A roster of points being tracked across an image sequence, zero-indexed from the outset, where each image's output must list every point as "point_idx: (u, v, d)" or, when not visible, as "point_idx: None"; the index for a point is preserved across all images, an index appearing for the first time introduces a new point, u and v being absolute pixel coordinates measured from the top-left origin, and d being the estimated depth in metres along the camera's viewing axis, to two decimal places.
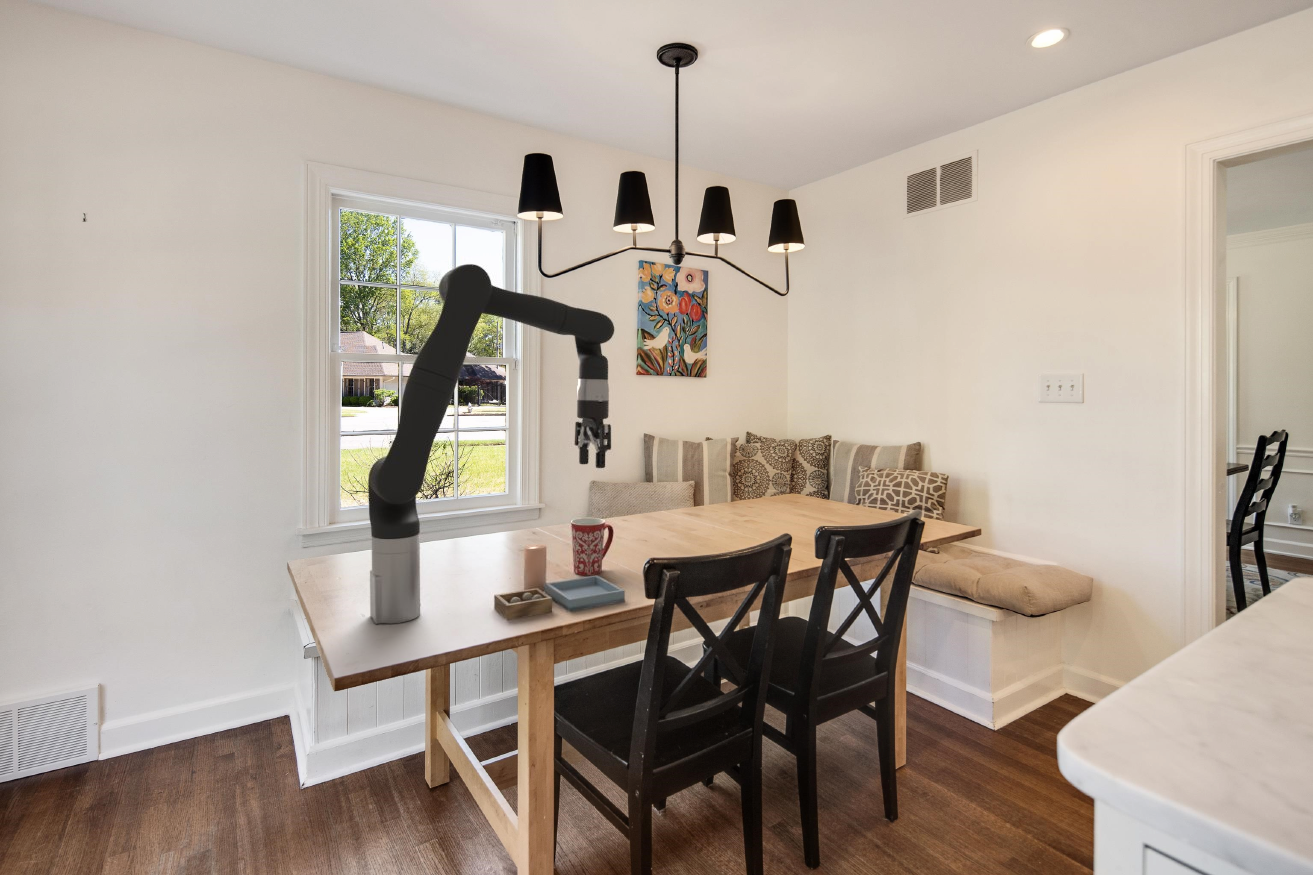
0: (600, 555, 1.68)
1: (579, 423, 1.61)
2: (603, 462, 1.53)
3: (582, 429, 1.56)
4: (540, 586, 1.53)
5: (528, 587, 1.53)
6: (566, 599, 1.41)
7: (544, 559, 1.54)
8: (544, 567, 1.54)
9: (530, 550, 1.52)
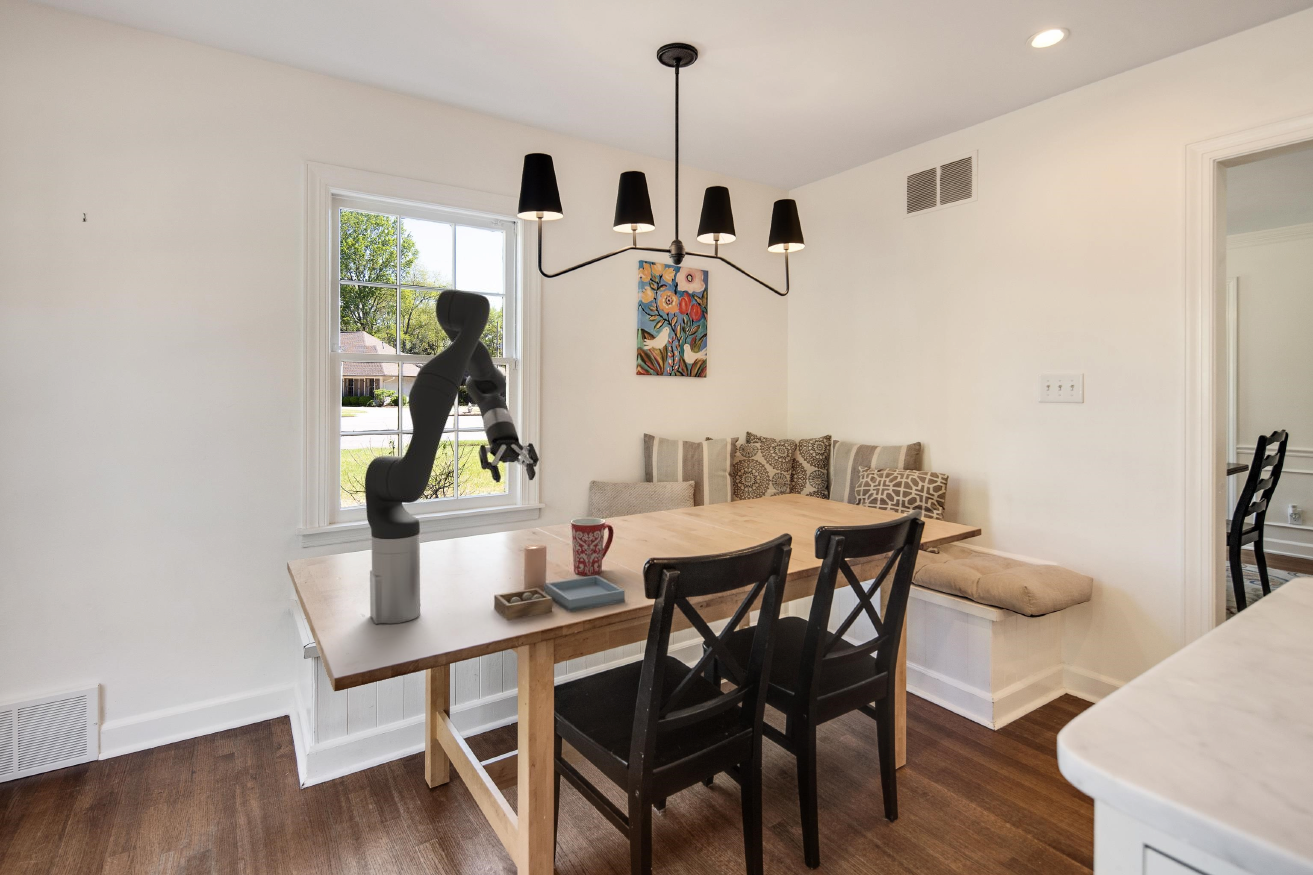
0: (600, 555, 1.68)
1: None
2: None
3: (503, 447, 1.63)
4: (540, 586, 1.53)
5: (528, 587, 1.53)
6: (566, 599, 1.41)
7: (544, 559, 1.54)
8: (544, 567, 1.54)
9: (530, 550, 1.52)
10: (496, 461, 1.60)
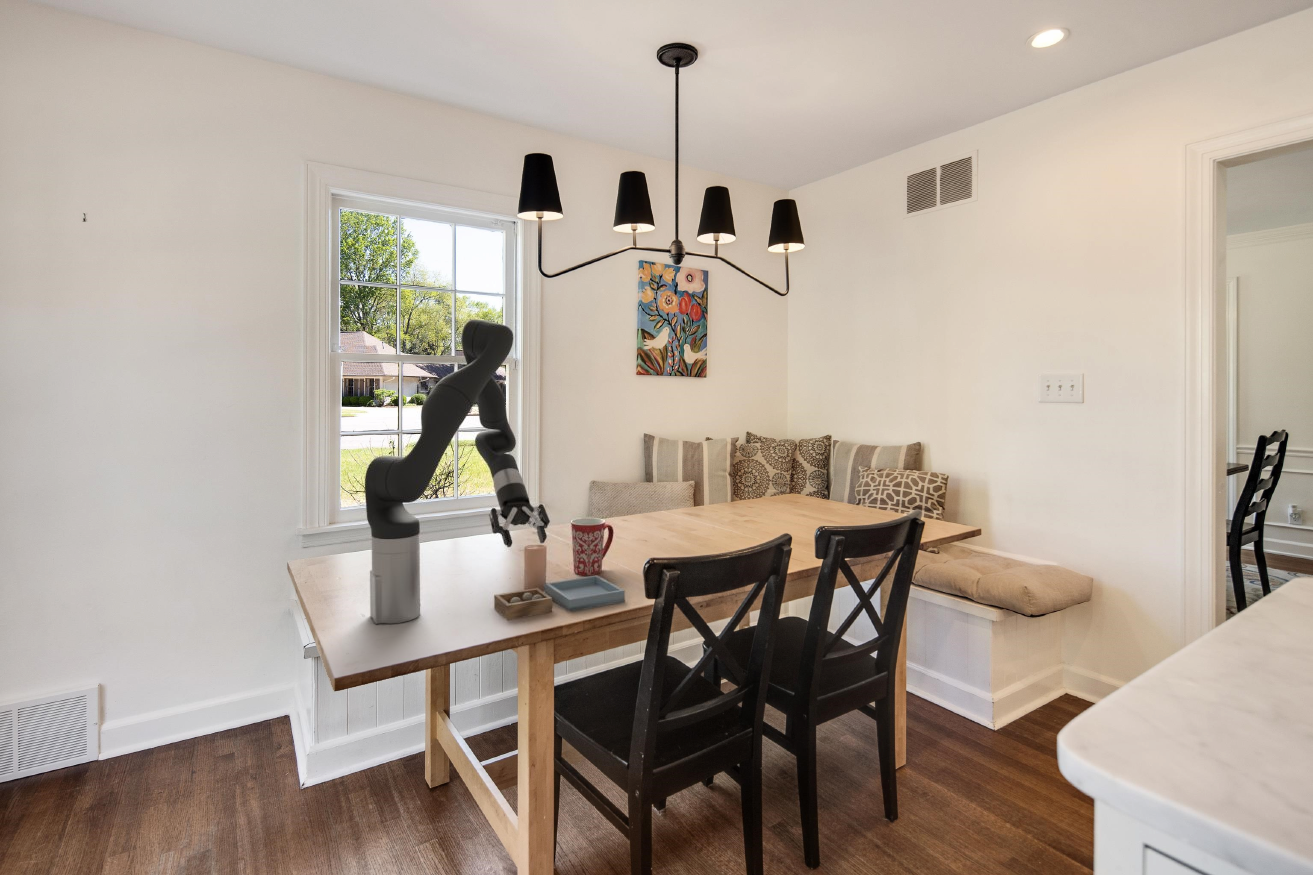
0: (600, 555, 1.68)
1: None
2: None
3: (514, 510, 1.62)
4: (540, 586, 1.53)
5: (528, 587, 1.53)
6: (566, 599, 1.41)
7: (544, 559, 1.54)
8: (544, 567, 1.54)
9: (530, 550, 1.52)
10: (507, 525, 1.59)
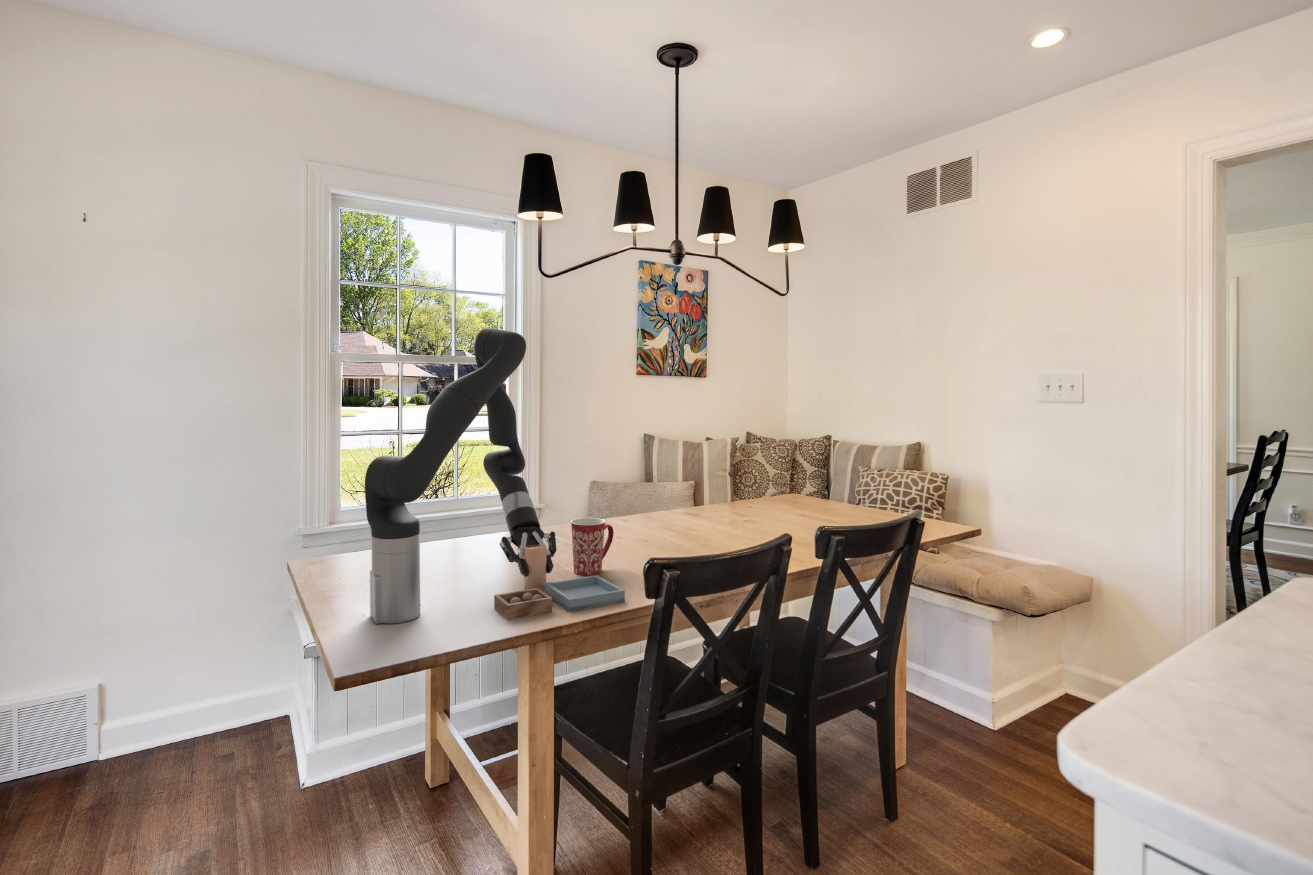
0: (600, 555, 1.68)
1: None
2: None
3: (524, 535, 1.57)
4: (540, 586, 1.53)
5: (528, 587, 1.53)
6: (566, 599, 1.41)
7: (544, 559, 1.54)
8: (544, 567, 1.54)
9: (530, 550, 1.52)
10: (523, 553, 1.54)
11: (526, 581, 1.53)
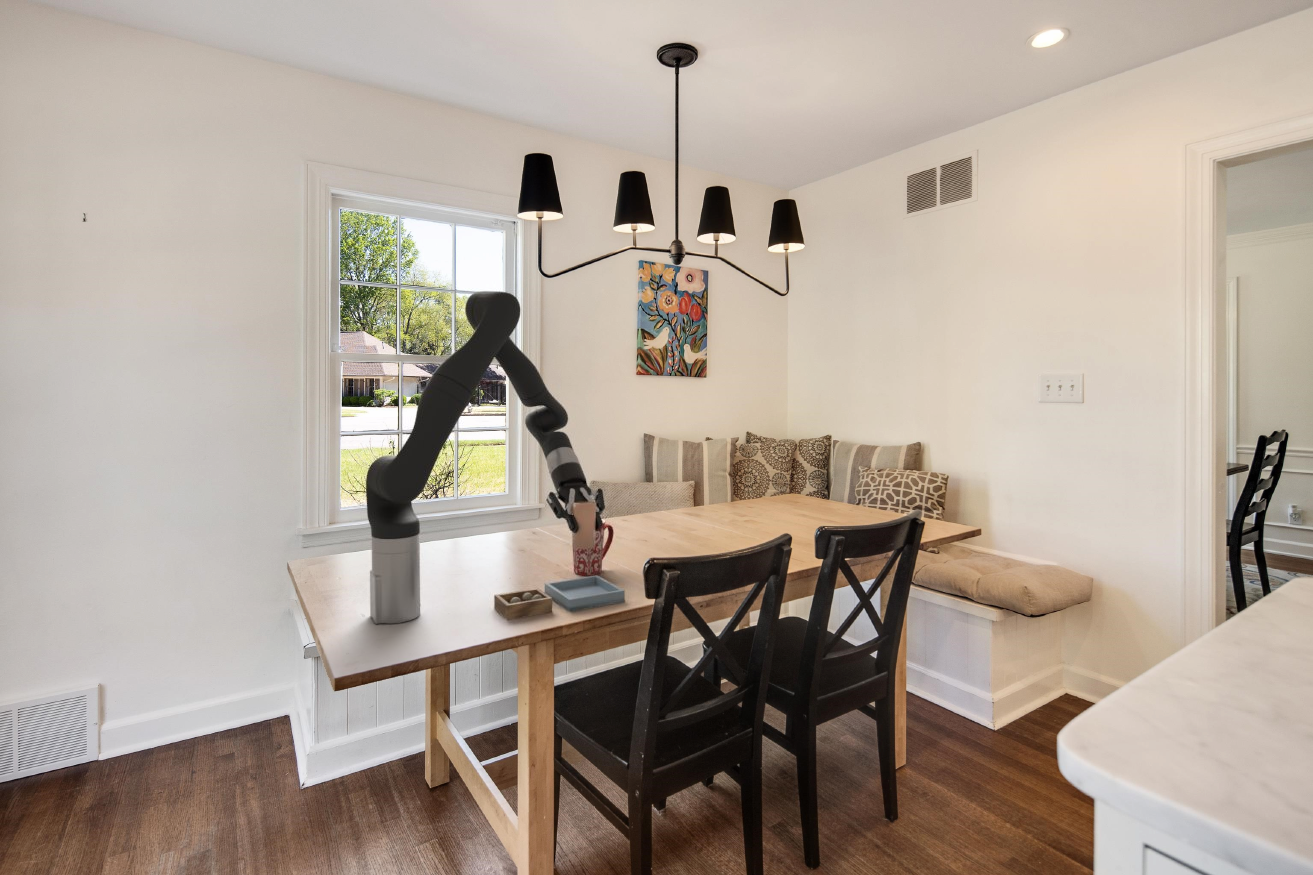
0: (600, 555, 1.68)
1: None
2: None
3: (572, 491, 1.50)
4: (589, 543, 1.46)
5: (577, 544, 1.46)
6: (566, 599, 1.41)
7: (594, 515, 1.47)
8: (593, 524, 1.47)
9: (580, 505, 1.45)
10: (571, 509, 1.47)
11: (575, 538, 1.46)
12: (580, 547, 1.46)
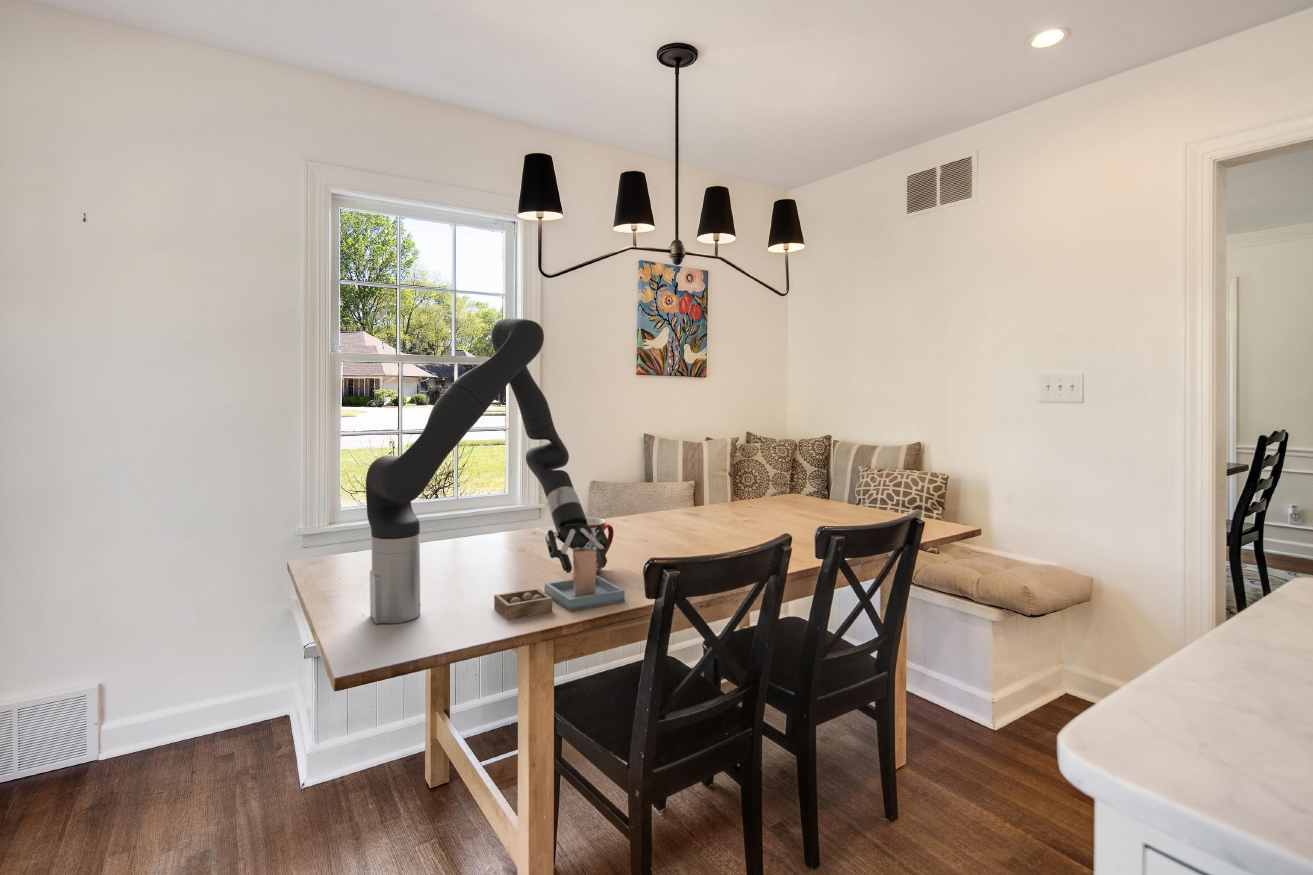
0: None
1: None
2: None
3: (572, 532, 1.50)
4: (590, 591, 1.47)
5: (578, 593, 1.47)
6: (566, 599, 1.41)
7: (594, 564, 1.47)
8: (594, 572, 1.48)
9: (580, 554, 1.46)
10: (566, 549, 1.47)
11: (575, 587, 1.47)
12: (580, 596, 1.46)
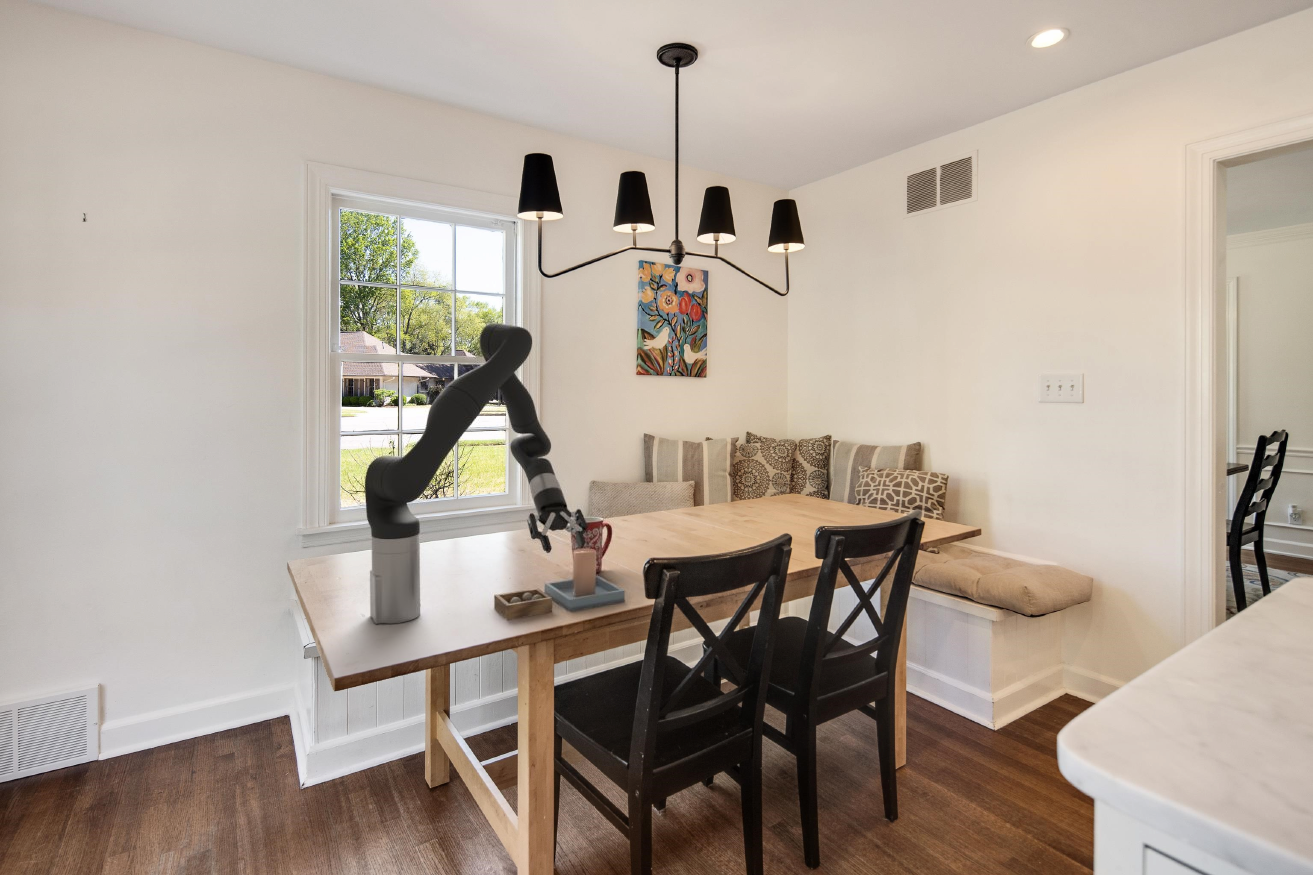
0: (599, 553, 1.68)
1: None
2: None
3: (552, 515, 1.60)
4: (590, 591, 1.47)
5: (578, 593, 1.47)
6: (566, 599, 1.41)
7: (594, 563, 1.47)
8: (594, 572, 1.48)
9: (580, 554, 1.46)
10: (546, 530, 1.57)
11: (575, 587, 1.47)
12: (580, 596, 1.46)
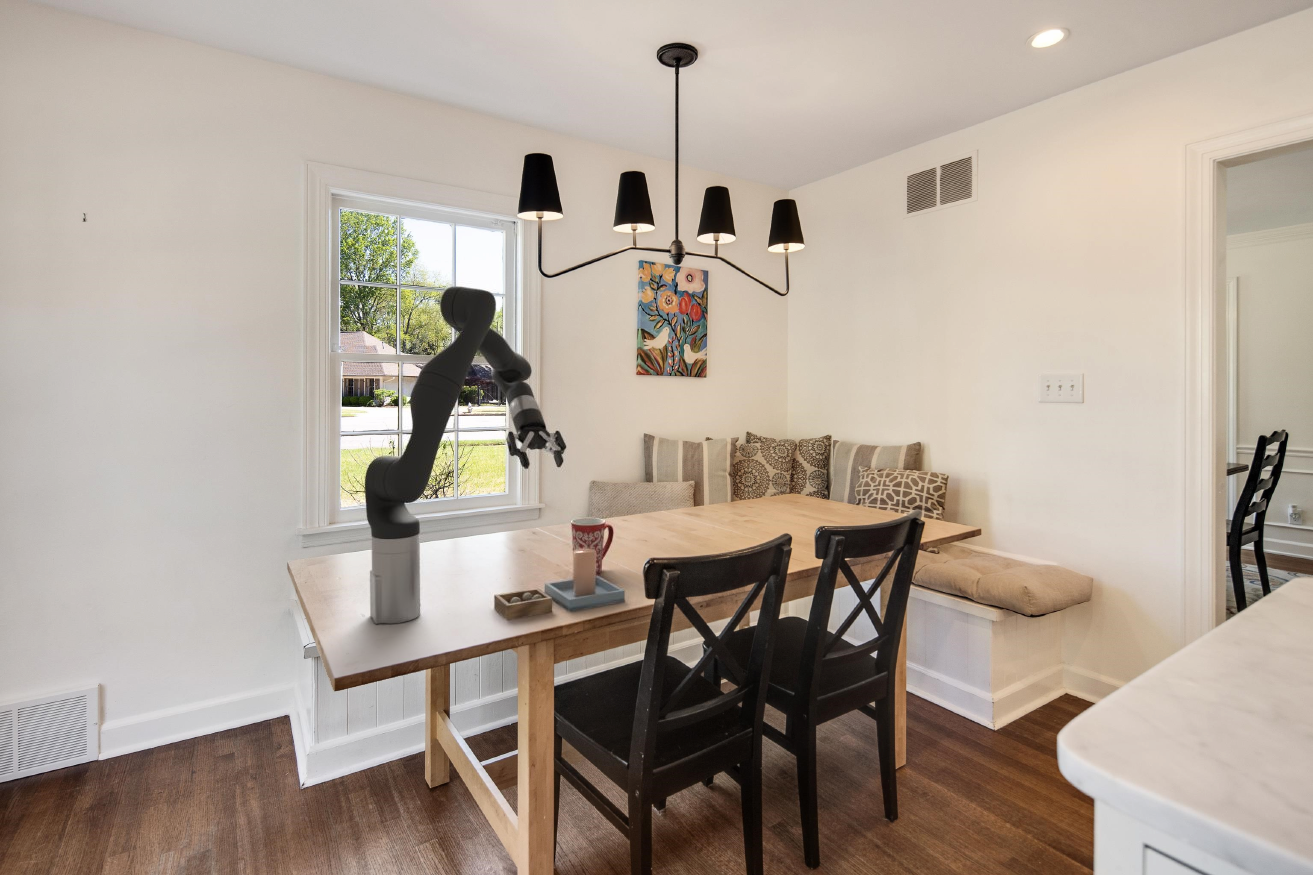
0: (600, 555, 1.68)
1: None
2: None
3: (531, 434, 1.62)
4: (590, 591, 1.47)
5: (578, 593, 1.47)
6: (566, 599, 1.41)
7: (594, 563, 1.47)
8: (594, 572, 1.48)
9: (580, 554, 1.46)
10: (524, 447, 1.59)
11: (575, 586, 1.47)
12: (580, 596, 1.46)
